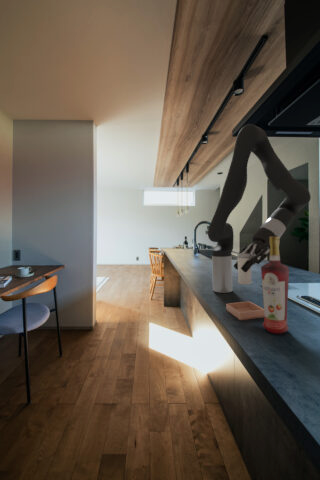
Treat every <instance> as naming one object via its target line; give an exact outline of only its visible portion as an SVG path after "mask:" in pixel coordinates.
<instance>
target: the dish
mask: <svg viewBox="0 0 320 480" xmlns="http://www.w3.org/2000/svg"><path fill="white" fill-rule="evenodd" d="M225 306H226V309H225V310H226V311H227V313H229V314H231V315H232V316H233V317H235V318H236V319H237V320H239V321H246V320H252V319H262V318H263V319H264V307H263V308H262V307H261V306H259V305H257V304H256V303H254V302H252V301H249V300H248V301H240V302H229V303H225Z"/></svg>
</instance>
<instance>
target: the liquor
mask: <svg viewBox="0 0 320 480" xmlns="http://www.w3.org/2000/svg"><path fill="white" fill-rule="evenodd" d="M280 239H281V237H269V243H270V249H269V250H270V255H269V259H268V263H265V264H262V266H261V267H260V272H261V274H260V275H261V288H262V301H263V309H264V317H263V320H264V321H263V323H262V327H264V329H265V330H267V332H269V333H271V334H274V335H282V334H284V333H286V332H287V331H289V329H290V328H289V326H288V298H289V296H288V295H289V283H290V282H289V280H290V279H289V275H290V268H289V267H288V266H287V265H286V264H283V263H281V254H280Z"/></svg>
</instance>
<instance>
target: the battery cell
mask: <svg viewBox="0 0 320 480" xmlns="http://www.w3.org/2000/svg"><path fill="white" fill-rule="evenodd" d="M249 257H250V254H249V253H246V252H242V253H239V252H238V253H237V261H238V270H237V282H238V283H237V284H240V285H251V284H252V266H251V267H250V269H249V270H248V271H247V272H244V271H243V270H242V269H241V267H242V266H243V265H244V264H245V262H246V261H247V260H248V259H249ZM248 261H249V260H248Z"/></svg>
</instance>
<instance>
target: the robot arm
mask: <svg viewBox="0 0 320 480" xmlns="http://www.w3.org/2000/svg"><path fill="white" fill-rule="evenodd" d="M234 143H235V144H234V148H233V149H234V150H233V152H232V153H233V155H232V159H231V162H230V165H229V168H228V172H227V175H226V179H225V181H224V184H223V187H222V190H221V194H220V198H219V201H218V204H217V206H216V210H215V211H214V215H213V217H212V219H211V221H210V223H209V226H208V230H207V237H208V239H209V240H210V242H213V243H216V244H217V245H216V246H215V247H213V249H212V250H211V264H212V265H211V266H212V267H211V269H212V271H211V272H212V273H211V275H212V278H211V279H212V291H213V292H216V293H219V294H220V293H222V294H227V293H231V292H233V267H234V269H235V270H237V271H238V260H237V261H236V262H235V263H234V265H233V264H232V263H233V262H232V261H233V260H232V258H233V257H232V253H233V249H234V229H233V227H232V225H231V224H230V223H229V222H228V219H229V217H230V215H231V213H232V212H233V210H234V209H236V207H237V206H238V205H239V204H240V202H241V201H242V198H243V196H244V193H245V190H246V188H247V184H248V163H249V160H250V156H251V154H252V153H253V155H255V156H256V158H258V160H259V162H260V163H261V165H262V168H263V171H264V174H265V176H266V177H267V179H268V180H269V183H271V185H272V187H273V188H274V189H275V191H277V192H283V193H284V194H285V195H286V197H285V198H284V199H283V201H281V203H280V204H279V206H278V207H277V209H275V210H274V211H273V212H272V213H271V215H270V216H269V217H268V218H267V219H266V220H265V221H264V222H263V223H262V224H261V226H260V227H258V229H257V230H256V231H255V233H254V234H253V235H252V241H251V243H249V244H248V245H246V244H243V246H242V247H241V249H240V251H239V252H238V254H239V253H242V252H246V253H249V254H250V257H249V259H248V260H249V261H248V260H247V261H246V262H245V264H244V265H243V266H242V267H241V269H242V270H243V271H244V272H247V271H248V270H249V269H250V267H251V268H252V266H254V265H256V264H257V265H260V264H261V263H262V262H263V261H264V260H265V259H266V258H267V257H268V256H270V243H269V237H280V238H281V237H282V236H283V234H284V233H285V232H286V230H287V228H288V227H290V225H291V224H292V222H293V221H294V218H295V217H296V216H297V215H298V214H299V212H300V211H302V210H303V208H304V207H305V206H307V205H308V204H309V203H310V201H311V192H310V191H309V189H308V188H307V187H306V186H305V185H304V184H303V183H301V182H300V181H299V180H297V179H296V178H294V177H293V175H292V174H291V172H290V171H289V170H288V168H287V166H285V164H284V163H283V162H282V160H281V159H280V157H278V154H277V153H276V152H275V150H274V148H273V146H272V144H271V142H270V140H269V138H268V135H267V133H266V131H265V130H264V129H262V128H261V127H259V126H257V125H255V124H251V123H249V124H245V125H244V126H242V127H241V129H240V130H239V132H238V134H237V136H236V139H235V142H234ZM232 266H233V267H232Z"/></svg>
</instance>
